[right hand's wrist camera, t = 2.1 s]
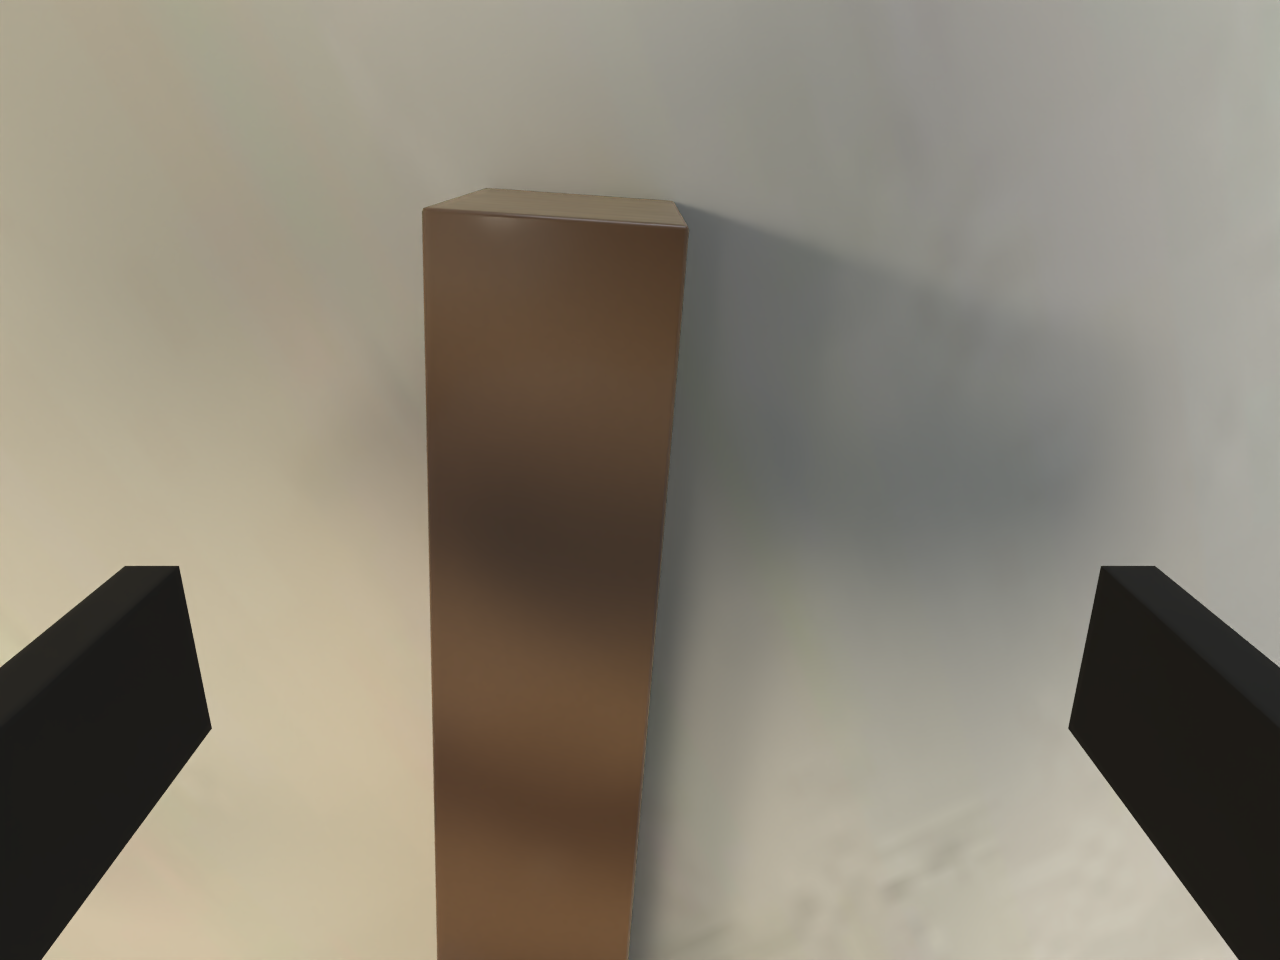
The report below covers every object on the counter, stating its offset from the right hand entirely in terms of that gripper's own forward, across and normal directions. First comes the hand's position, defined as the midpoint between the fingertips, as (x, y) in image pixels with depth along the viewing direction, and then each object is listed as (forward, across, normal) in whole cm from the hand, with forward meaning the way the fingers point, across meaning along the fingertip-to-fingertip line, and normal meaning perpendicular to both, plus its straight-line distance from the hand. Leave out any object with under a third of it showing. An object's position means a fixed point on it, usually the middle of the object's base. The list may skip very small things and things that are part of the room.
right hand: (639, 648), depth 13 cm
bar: (+14, -4, -32) cm, 35 cm away
